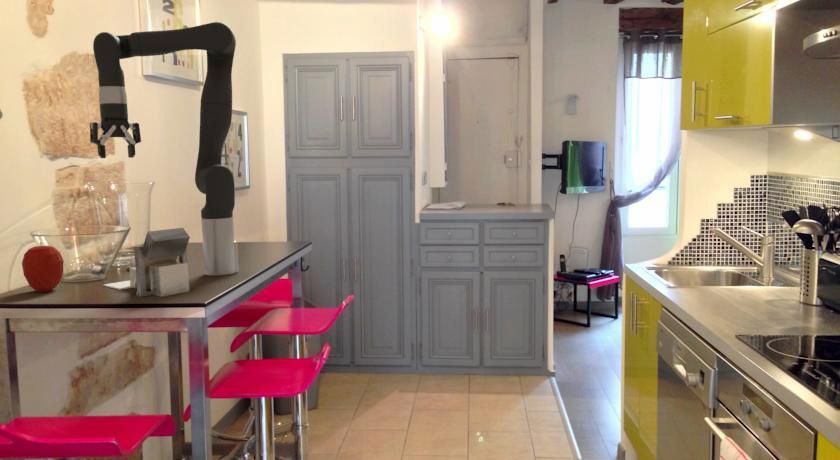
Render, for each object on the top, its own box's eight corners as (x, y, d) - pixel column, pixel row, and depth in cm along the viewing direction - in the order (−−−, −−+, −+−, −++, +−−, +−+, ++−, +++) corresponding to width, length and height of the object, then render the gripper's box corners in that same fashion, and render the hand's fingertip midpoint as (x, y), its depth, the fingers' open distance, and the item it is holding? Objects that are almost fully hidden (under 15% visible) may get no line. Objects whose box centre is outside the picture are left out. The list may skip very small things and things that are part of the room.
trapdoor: (190, 237, 187) (183, 227, 188) (153, 241, 179) (146, 231, 181) (173, 288, 195) (167, 278, 197) (137, 294, 188) (130, 284, 189)
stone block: (158, 269, 195) (146, 265, 199) (141, 272, 191) (129, 267, 195) (159, 286, 195) (147, 282, 200) (142, 289, 192) (130, 285, 196)
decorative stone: (130, 273, 221) (129, 263, 220) (129, 266, 235) (128, 256, 234) (151, 272, 223) (150, 261, 223) (148, 265, 237) (148, 255, 237)
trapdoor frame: (199, 289, 190) (196, 242, 188) (150, 298, 179) (146, 248, 178) (184, 286, 195) (181, 240, 193) (136, 295, 184) (132, 246, 183)
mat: (143, 279, 208) (143, 278, 208) (160, 283, 201) (160, 281, 201) (103, 285, 199) (103, 284, 199) (119, 289, 193) (119, 288, 193)
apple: (74, 288, 197) (70, 239, 195) (43, 295, 188) (39, 243, 186) (46, 286, 201) (42, 238, 199) (15, 293, 191) (10, 243, 190)
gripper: (94, 101, 200) (99, 158, 201) (142, 102, 210) (146, 157, 212) (83, 102, 205) (87, 158, 206) (130, 104, 215) (134, 157, 217)
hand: (117, 157), depth 209 cm, fingers open, 8 cm apart
